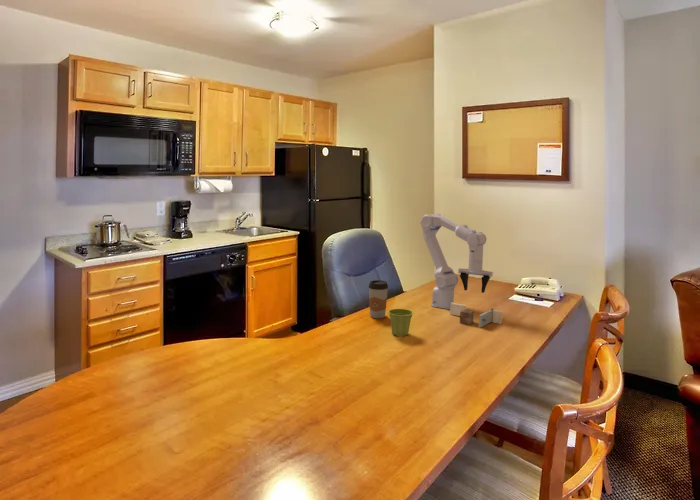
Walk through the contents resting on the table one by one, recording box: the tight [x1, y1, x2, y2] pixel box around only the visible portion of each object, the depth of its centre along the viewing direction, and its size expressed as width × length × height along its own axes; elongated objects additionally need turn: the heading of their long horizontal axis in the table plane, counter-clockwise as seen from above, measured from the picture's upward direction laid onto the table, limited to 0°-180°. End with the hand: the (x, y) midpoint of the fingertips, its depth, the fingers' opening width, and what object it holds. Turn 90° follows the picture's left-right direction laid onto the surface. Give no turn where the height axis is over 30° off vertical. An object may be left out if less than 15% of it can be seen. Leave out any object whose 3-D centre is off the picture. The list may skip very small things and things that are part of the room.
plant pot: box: [387, 308, 414, 337], centre depth 167 cm, size 9×9×9 cm
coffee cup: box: [368, 279, 389, 319], centre depth 188 cm, size 8×8×15 cm
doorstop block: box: [459, 308, 475, 326], centre depth 182 cm, size 4×5×5 cm
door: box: [478, 308, 494, 328], centre depth 180 cm, size 11×2×5 cm, turn 139°
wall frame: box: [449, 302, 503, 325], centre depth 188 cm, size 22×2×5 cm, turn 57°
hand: (474, 291), depth 193 cm, fingers open, 7 cm apart
